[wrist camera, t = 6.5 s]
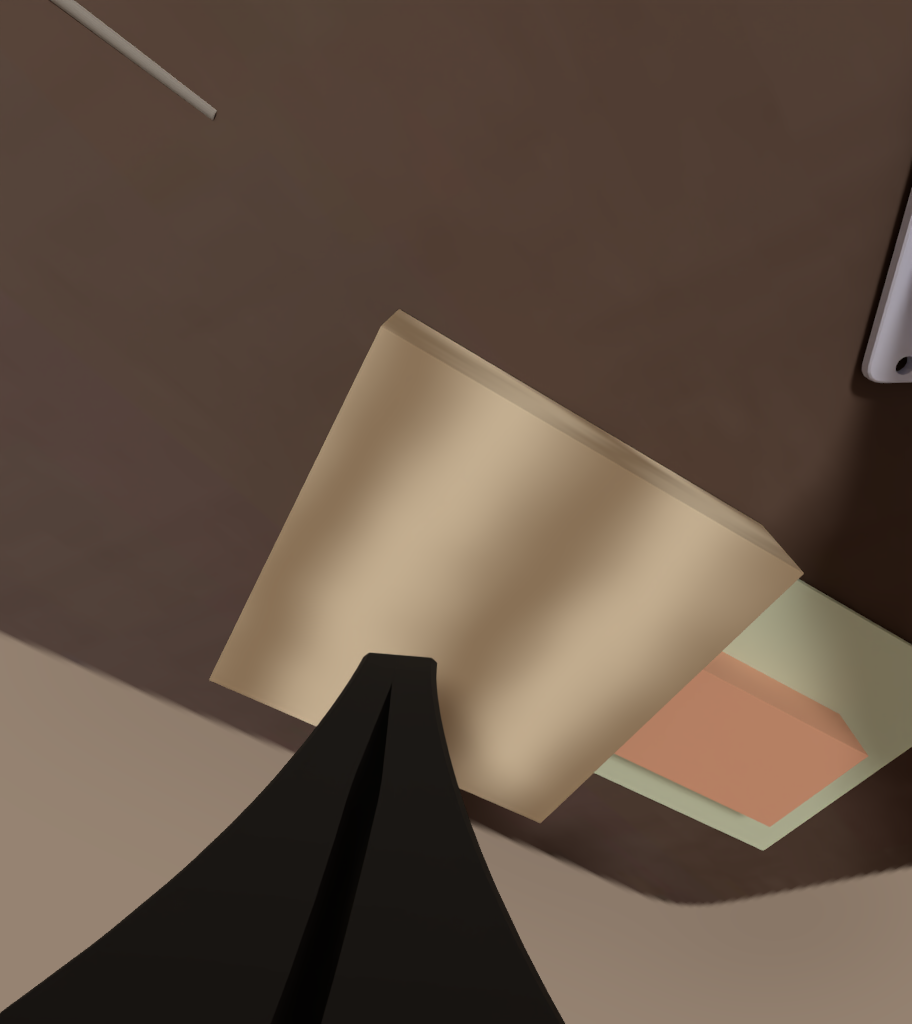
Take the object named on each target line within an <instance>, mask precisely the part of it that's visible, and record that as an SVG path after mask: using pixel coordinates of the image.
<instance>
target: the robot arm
mask: <svg viewBox="0 0 912 1024" xmlns="http://www.w3.org/2000/svg"><path fill="white" fill-rule="evenodd" d="M904 357H907V363H906V365H905V366H904V367H903V368H902V369H901V370H899V371H896V365H897V363H898V362H899V361H900V360H901V359H902V358H904ZM862 372H863V375H864V376H865V377H866V378H868V379H869V380H871V381H874V382H878V383H903V382H912V189H911V192H910V196H909V199H908V203H907V206H906V210H905V213H904V217H903V221H902V224H901V228H900V231H899V235H898V238H897V242H896V245H895V249H894V252H893V256H892V260H891V263H890V267H889V270H888V274H887V277H886V281H885V284H884V288H883V292H882V295H881V299H880V302H879V306H878V309H877V313H876V316H875V320H874V323H873V327H872V331H871V334H870V338H869V341H868V345H867V348H866V352H865V355H864V359H863V363H862ZM436 677H437V662H436V661H435V660H434V659H433V658H430V657H418V656H406V655H394V654H382V653H370V652H369V653H368V654H366V655H365V656H364V657H363V658H362V660H361V662H360V664H359V666H358V667H357V669H356V671H355V672H354V674H353V675H352V677H351V679H350V680H349V682H348V683H347V685H346V686H345V688H344V689H343V691H342V692H341V694H340V695H339V697H338V698H337V699H336V701H335V702H334V704H333V705H332V707H331V708H330V709H329V711H328V712H327V713H326V715H325V716H324V717H323V719H322V720H321V721H320V723H319V724H318V725H317V727H316V728H315V729H314V731H313V732H312V733H311V735H310V736H309V737H308V738H307V740H306V741H305V742H304V743H303V745H302V746H301V747H300V748H299V749H298V751H297V752H296V753H295V754H294V755H293V757H292V758H291V759H290V760H289V761H288V763H287V764H286V765H285V766H284V767H283V768H282V770H281V771H280V772H279V773H278V774H277V776H276V777H275V778H274V779H273V780H272V781H271V782H270V784H269V785H268V786H267V787H266V788H265V789H264V790H263V791H262V792H261V793H260V794H259V795H258V797H257V798H256V799H255V800H254V801H253V802H252V803H251V804H250V805H249V806H248V807H247V808H246V809H245V810H244V811H243V812H242V813H241V814H240V815H239V816H238V817H237V818H236V819H235V820H234V821H233V822H232V824H230V826H228V827H227V828H226V829H225V830H224V831H223V832H222V833H221V834H220V835H219V836H218V837H217V838H216V839H215V840H214V841H213V842H212V843H211V844H210V845H208V846H207V847H206V848H205V849H204V850H203V851H202V852H201V853H200V854H199V855H198V856H197V857H196V858H195V859H194V860H193V861H191V862H190V863H189V864H188V865H187V866H186V867H185V868H184V869H183V870H182V871H180V872H179V873H178V874H177V875H176V876H175V877H174V878H173V879H171V880H170V881H169V882H168V883H167V884H166V885H164V886H163V887H162V888H161V889H159V890H158V891H157V892H156V893H155V894H154V895H152V896H151V897H150V898H149V899H148V900H146V901H145V902H144V903H143V904H141V905H140V906H139V907H138V908H137V909H135V910H134V911H133V912H132V913H131V914H129V915H128V916H127V917H126V918H125V919H123V920H122V921H121V922H120V923H119V924H117V925H116V926H115V927H114V928H113V929H111V930H110V931H109V932H108V933H106V934H105V935H104V936H103V937H102V938H100V939H99V940H97V941H96V942H95V943H94V944H92V945H91V946H90V947H88V948H87V949H86V950H84V951H83V952H82V953H80V954H79V955H78V956H76V957H75V958H73V959H72V960H71V961H70V962H68V963H67V964H65V965H64V966H63V967H61V968H60V969H59V970H57V971H56V972H55V973H53V974H52V975H51V976H49V977H48V978H47V979H45V980H44V981H43V982H41V983H40V984H38V985H37V986H36V987H34V988H33V989H32V990H30V991H29V992H28V993H26V994H25V995H24V996H22V997H21V998H20V999H18V1000H17V1001H16V1002H14V1003H13V1004H11V1005H10V1006H9V1007H7V1008H6V1009H5V1010H3V1011H2V1012H1V1013H0V1024H565V1023H564V1021H563V1019H562V1017H561V1015H560V1014H559V1012H558V1010H557V1008H556V1006H555V1005H554V1003H553V1001H552V999H551V997H550V995H549V994H548V992H547V990H546V988H545V986H544V984H543V982H542V980H541V978H540V976H539V974H538V973H537V971H536V969H535V967H534V965H533V963H532V961H531V959H530V957H529V955H528V954H527V951H526V949H525V948H524V945H523V943H522V941H521V939H520V937H519V935H518V933H517V931H516V928H515V926H514V924H513V922H512V920H511V918H510V916H509V913H508V911H507V909H506V907H505V905H504V903H503V901H502V898H501V896H500V894H499V892H498V890H497V888H496V885H495V883H494V881H493V878H492V876H491V874H490V871H489V869H488V866H487V864H486V861H485V859H484V857H483V854H482V852H481V849H480V847H479V844H478V842H477V839H476V836H475V833H474V831H473V828H472V825H471V823H470V820H469V817H468V814H467V811H466V808H465V805H464V802H463V799H462V796H461V793H460V790H459V786H458V783H457V780H456V777H455V773H454V770H453V766H452V762H451V759H450V755H449V751H448V746H447V742H446V738H445V734H444V729H443V725H442V720H441V714H440V708H439V701H438V693H437V679H436Z"/></svg>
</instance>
